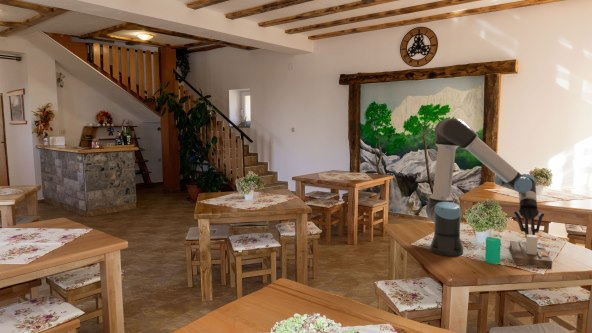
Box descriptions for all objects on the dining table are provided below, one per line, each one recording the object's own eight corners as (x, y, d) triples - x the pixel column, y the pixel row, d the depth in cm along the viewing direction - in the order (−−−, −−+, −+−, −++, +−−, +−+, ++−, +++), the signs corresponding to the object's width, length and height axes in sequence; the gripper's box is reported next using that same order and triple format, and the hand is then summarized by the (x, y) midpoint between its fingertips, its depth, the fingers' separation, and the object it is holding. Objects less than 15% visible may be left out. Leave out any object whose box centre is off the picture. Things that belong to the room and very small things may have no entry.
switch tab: (526, 253, 185) (527, 236, 185) (525, 251, 189) (526, 234, 188) (536, 255, 184) (537, 237, 183) (535, 252, 187) (536, 235, 187)
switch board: (514, 263, 182) (515, 255, 182) (510, 246, 208) (510, 238, 207) (551, 267, 177) (552, 258, 176) (542, 249, 202) (542, 241, 202)
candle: (482, 260, 187) (483, 234, 186) (491, 258, 190) (492, 233, 189) (493, 264, 182) (494, 237, 181) (502, 262, 184) (503, 236, 183)
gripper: (542, 207, 203) (545, 249, 189) (512, 205, 208) (514, 246, 194) (544, 198, 197) (548, 241, 184) (513, 196, 202) (515, 238, 189)
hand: (530, 244), depth 189 cm, fingers closed
